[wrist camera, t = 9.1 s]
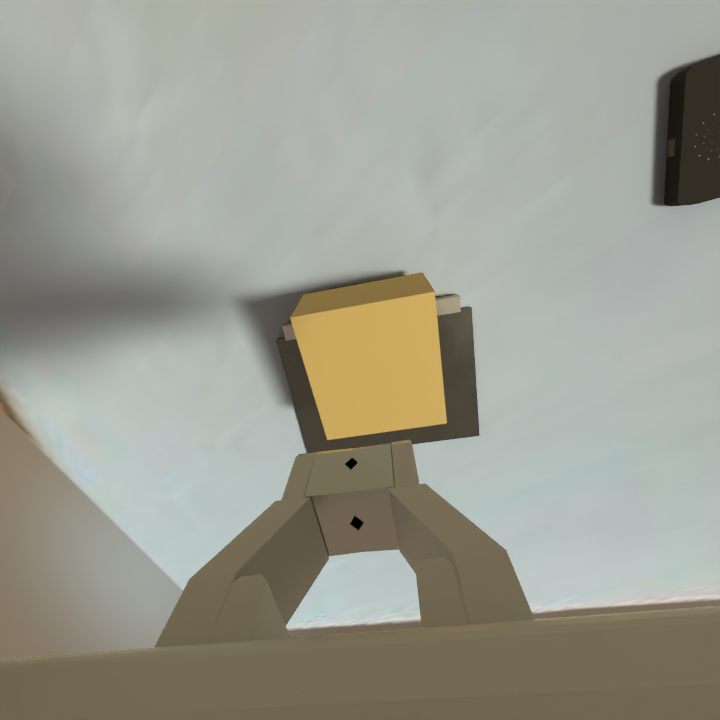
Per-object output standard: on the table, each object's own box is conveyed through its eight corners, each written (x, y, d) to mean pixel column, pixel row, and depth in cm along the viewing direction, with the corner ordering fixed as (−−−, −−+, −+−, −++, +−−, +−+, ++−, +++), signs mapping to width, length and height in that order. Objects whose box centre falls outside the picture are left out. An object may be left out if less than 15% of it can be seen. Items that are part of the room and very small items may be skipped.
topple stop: (273, 325, 28) (269, 328, 27) (469, 291, 26) (473, 294, 25) (310, 455, 32) (308, 462, 31) (478, 433, 31) (481, 440, 30)
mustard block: (289, 317, 21) (327, 440, 25) (434, 291, 20) (446, 423, 24) (303, 294, 25) (333, 402, 30) (422, 272, 24) (434, 386, 29)
